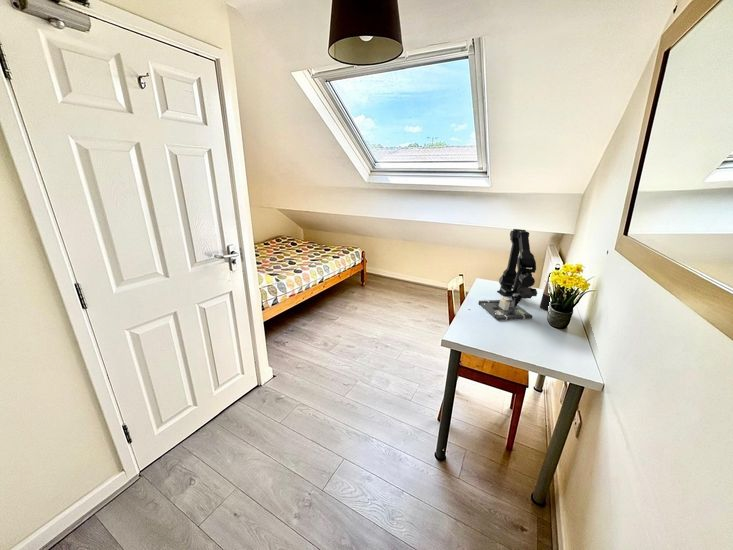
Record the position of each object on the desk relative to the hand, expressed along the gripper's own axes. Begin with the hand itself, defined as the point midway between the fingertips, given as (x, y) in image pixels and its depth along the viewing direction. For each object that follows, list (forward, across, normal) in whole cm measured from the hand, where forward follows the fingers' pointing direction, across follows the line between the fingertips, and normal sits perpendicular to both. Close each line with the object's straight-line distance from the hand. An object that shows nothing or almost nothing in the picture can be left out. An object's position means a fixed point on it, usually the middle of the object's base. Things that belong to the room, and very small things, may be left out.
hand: (514, 306), depth 160 cm
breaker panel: (+2, -6, 0) cm, 6 cm away
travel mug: (+3, +22, +1) cm, 22 cm away
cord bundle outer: (+2, -6, -8) cm, 10 cm away
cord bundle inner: (+2, -5, +8) cm, 10 cm away
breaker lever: (+1, -7, 0) cm, 7 cm away
